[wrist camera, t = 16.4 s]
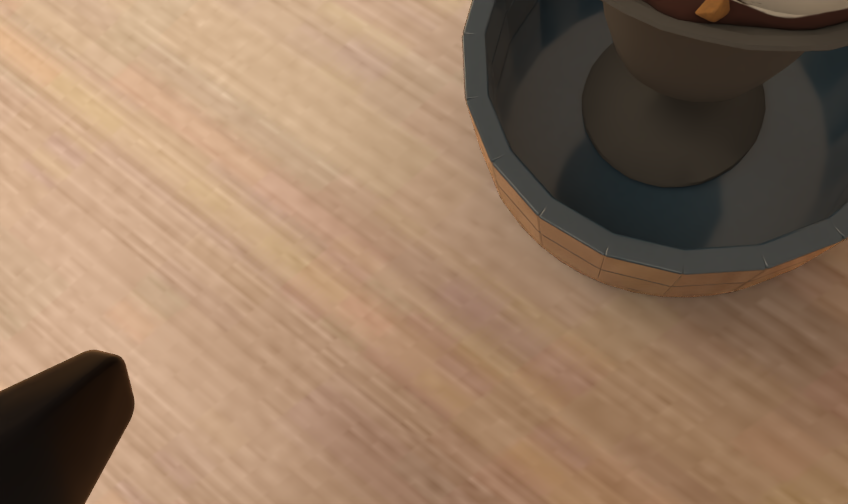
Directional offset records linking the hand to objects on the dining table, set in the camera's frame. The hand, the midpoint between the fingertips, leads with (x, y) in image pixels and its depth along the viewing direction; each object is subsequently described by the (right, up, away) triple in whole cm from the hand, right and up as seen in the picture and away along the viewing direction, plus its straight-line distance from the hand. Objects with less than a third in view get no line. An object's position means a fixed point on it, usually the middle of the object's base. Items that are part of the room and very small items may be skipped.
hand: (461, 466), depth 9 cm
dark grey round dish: (+7, +7, +13) cm, 16 cm away
